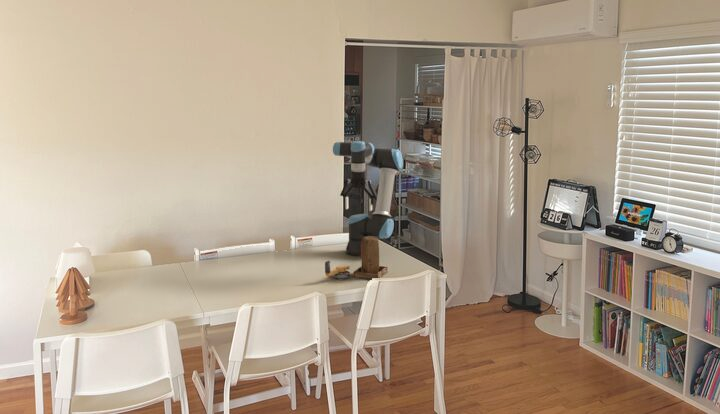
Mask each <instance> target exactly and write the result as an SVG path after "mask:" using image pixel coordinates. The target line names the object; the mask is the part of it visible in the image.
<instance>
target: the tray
mask: <svg viewBox="0 0 720 414" xmlns="http://www.w3.org/2000/svg"><path fill="white" fill-rule="evenodd" d="M387 273H388V266H383V265H379V271H378V274H371V273H363V271H362V265H361V266H359V267H358V268H357V269H355V270H354V271H353V272H352V275H353V278H355V277H359V278H358V279H363V278H366V280H371V279H372V278H380V277H381V278H383V276H385V275H386V274H387ZM381 278H380V279H381Z"/></svg>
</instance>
